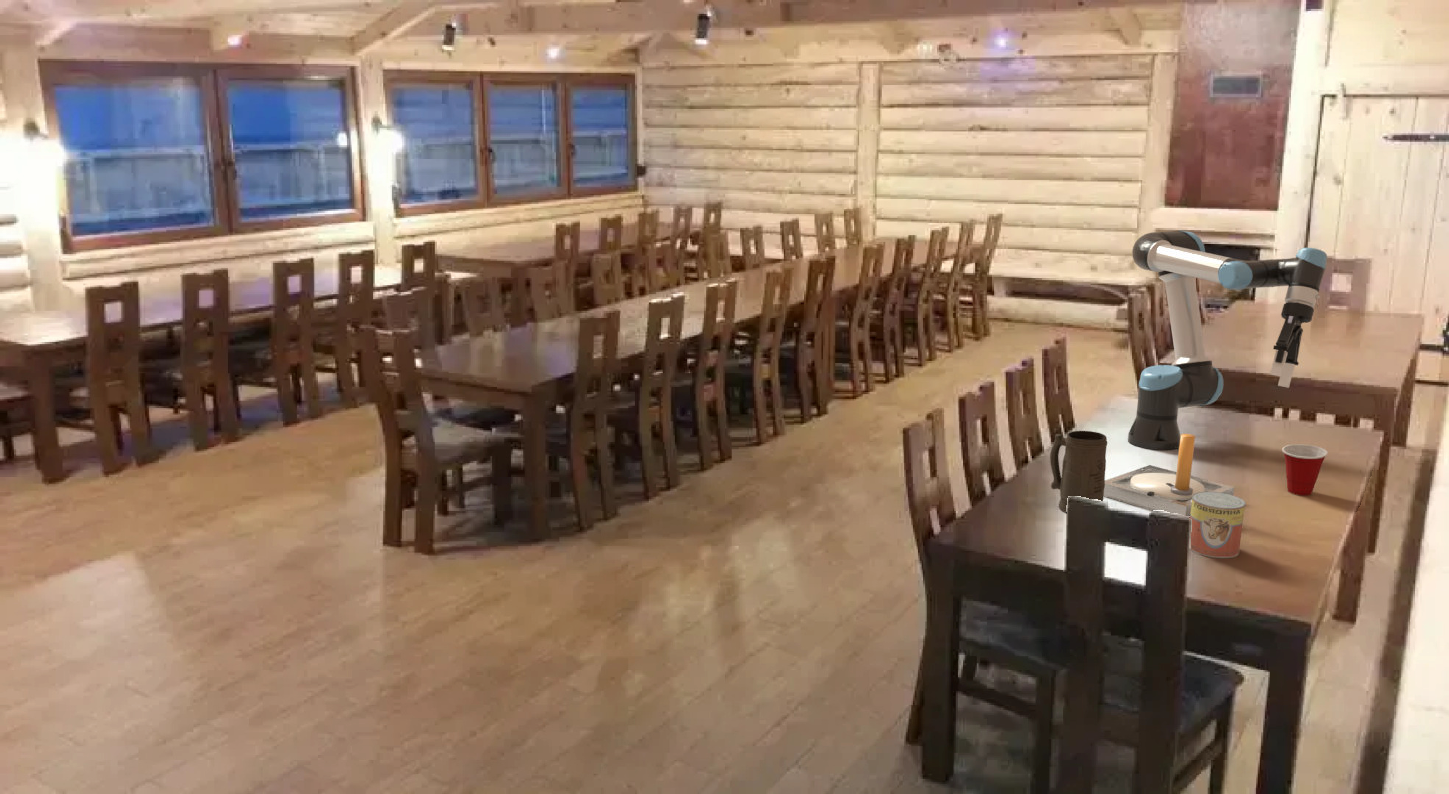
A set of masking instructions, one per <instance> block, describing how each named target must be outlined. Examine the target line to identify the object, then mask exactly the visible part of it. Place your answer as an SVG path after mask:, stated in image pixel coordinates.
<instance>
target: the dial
mask: <svg viewBox="0 0 1449 794" xmlns="http://www.w3.org/2000/svg"><path fill="white" fill-rule="evenodd" d="M1180 436H1181V437H1180V446H1179V448H1178V455H1177V456H1178V457H1177V465H1176V472H1177V473H1176V475H1174V474H1166V473H1143V474H1138V475H1135V476H1133V477H1132V478H1131V482H1130V486H1131V488H1133V489H1136V490H1140V491H1144V492H1147V493H1148V492H1150V491H1152V492H1154V495H1158V496H1161V497H1165V498H1168V499H1172V500H1190V499H1191V497H1192V496H1193V495H1194V494H1195V493H1199V492H1204V486H1203V485H1202V484H1201V483H1200V482H1198V481H1196V480H1193V479H1191V478H1190V477H1191V476H1192V465H1193V457H1194V452H1195V451H1194V450H1195V441H1196V436H1195V435H1194V434H1191V433H1182V434H1181V433H1180Z"/></svg>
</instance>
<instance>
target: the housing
mask: <svg viewBox="0 0 1449 794" xmlns="http://www.w3.org/2000/svg"><path fill="white" fill-rule="evenodd" d="M1143 473H1166V474H1174V475H1176V473H1177V471H1175V470H1171V469H1170V470H1169V469H1166V468H1163V467H1159V466H1154V465H1150V464H1148V465H1146V466H1142V467H1139V468H1137V469H1135V470H1131V471H1129V472H1126V473H1123V474H1120V475H1118V476H1117V475H1116V476H1115V477H1111V478H1109V479H1105V488H1104V496H1103V497H1106V498H1110V499H1113V500H1116V499H1117V500H1116V501H1119V500H1120V501H1119V502H1123V503H1126V504H1129V505H1133V506H1137V507H1140V508H1142V509H1147V510H1149V511H1153V510H1164V511H1167V512H1170V513H1178V514H1181V515H1184V516H1190V515H1191V506H1192V497H1191V499H1190V500H1172V499H1168V498H1165V497H1161V496H1158V495H1154V492H1152V491H1150V492H1148V493H1147V492H1144V491H1140V490H1136V489H1133V488H1131V486H1130V482H1131V478H1132V477H1133V476H1135V475H1138V474H1143ZM1190 478H1191V479H1193V480H1196V481H1198V482H1200V483H1201V484H1202V485H1203V486H1204V492H1219V493H1225V494H1230V495H1233V496H1234V494H1235V493H1234V491H1235V486H1231V485H1228V484H1224V483H1220V482H1215V481H1213V480H1208V479H1205V478H1200V477H1198V476H1193V475H1191V477H1190Z"/></svg>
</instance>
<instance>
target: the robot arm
mask: <svg viewBox="0 0 1449 794" xmlns="http://www.w3.org/2000/svg"><path fill="white" fill-rule="evenodd" d="M1131 254H1132V256H1131V257H1132V259H1133V261H1134V263H1135V264H1136V266H1137V267H1139V268H1140V269H1142V270H1146V271H1151V272H1154V273H1158V278H1159V280H1161V281H1163V283H1164V284H1165V285H1164V286H1165V293H1166V299H1167V307H1168V313H1169V320H1170V329H1171V335H1172V343H1173V351H1174V356H1175V359H1174V361H1173V362H1172V363H1171V365H1169V364H1164V365H1161V364H1159V365H1157V364H1156V365H1151V366H1148V367H1146V368H1144V369H1143V370H1142V371H1141V374H1140V379H1139V381H1138V396H1137V406H1136V414H1135V418H1134V421H1133V423H1132V425H1131V427H1130V429H1129V431H1128V435H1127V437H1128V438H1127V442H1128V443H1129V444H1131V445H1133V446H1137V447H1139V448H1144V449H1150V450H1160V451H1161V450H1162V451H1163V450H1164V451H1166V450H1169V451H1170V450H1175V449H1179V446H1180V437H1181V433H1180V428H1179V424H1178V414H1179V409H1181V408H1190V407H1191V408H1192V407H1204V406H1206V405H1211V404H1213V403H1214V402H1216V401H1217V400H1218V399H1219V398H1220V396H1221V395H1222V392H1223V390H1224V377H1223V374H1222V373H1221V372H1220V371H1219V369H1218V368H1217V367H1214V365H1213V360H1212V359H1211V358H1210V357H1209V356H1207V355H1206V350H1205V349H1206V348H1205V342H1204V336H1203V328H1202V320H1201V313H1200V307H1199V299H1198V292H1197V285H1196V279H1200V280H1202V281H1203V280H1204V281H1207V282H1212V283H1215V284H1220V285H1221V286H1222V287H1223V288H1224V289H1226V290H1245V289H1257V288H1258V289H1259V288H1274V287H1275V288H1276V287H1287V290H1286V293H1285V297H1284V302H1285V303H1283V306H1282V310H1281V314H1280V316H1281V319H1284V322H1283V325H1282V327H1281V329H1280V332H1279V335H1278V337H1277V340H1276V343H1275V345H1273V350H1275V353H1274V358H1273V362H1272V364H1271V369H1270V372H1269V375H1271V376H1275V377H1279V379H1278V384H1277V386H1278V387H1284V388H1287V389H1289V388H1290V385H1291V381H1292V378H1293V373H1294V370H1295V366H1299V363H1300V362H1298V358H1299V353H1300V346H1301V340H1302V336H1303V332H1304V329H1303V328H1302V324H1303V323H1304V324H1306V323H1307V324H1308V323H1311V322H1312V319H1313V316H1314V312H1315V309H1314V307H1315V306H1316V303H1317V300H1319V299H1320V298H1321V296H1320V295H1319V293H1320V288H1321V285H1322V280H1323V278H1324V274H1325V271H1326V266H1327V260H1328V255H1327V253H1326V252H1325V251H1323V250H1321V249H1318V248H1315V247H1314V248H1313V247H1302V248H1300V249H1298V250H1297V253H1296V255H1295V257H1291V258H1277V259H1276V258H1275V259H1274V258H1273V259H1258V260H1242V259H1238V258H1232V257H1228V256H1223V255H1220V254H1219V255H1218V254H1214V253H1210V252H1206V248H1205V244H1204V243H1203V240H1202V239H1201V238H1200V237H1199V236H1198V235H1197V234H1196V233H1194V232H1191V231H1184V230H1173V231H1157V232H1156V231H1154V232H1153V231H1152V232H1149V233H1146V234H1142V235H1141V236H1140V237H1139V238H1138V239H1137V240H1136V241H1135V243H1134V245H1133V247H1132V251H1131Z"/></svg>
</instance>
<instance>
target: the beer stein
mask: <svg viewBox="0 0 1449 794" xmlns="http://www.w3.org/2000/svg"><path fill="white" fill-rule="evenodd" d="M1107 438H1108V437H1107V436H1106V434H1103V433H1101V432H1097V431H1090V430H1073V431H1070V432H1067V435H1066V437H1064V435H1062V434H1060V433H1056V434H1055V435H1054V441H1053V443H1052V447H1051V449H1050V453H1049V456H1050V457H1049V459H1050V460H1049V463H1050V468H1051V473H1052V475H1053V476H1052V477H1053V479H1052V480H1053V481H1052V482H1051V485H1050V487H1051V489H1052V490H1059V492H1060V493H1059V497H1060V500H1059V502H1058V508H1059V509H1060V510H1061V511H1062V512H1064V513H1066V505H1067V498H1068V496H1081V497H1086V498H1089V499H1098V500H1101V501H1102V502H1103V501H1104V497H1105V496H1104V488H1105V480H1106V479H1105V478H1106V477H1105V476H1106V465H1107V460H1106V456H1107V446H1108V441H1107V440H1108V439H1107ZM1063 446H1064V448H1065V450H1064V451H1065V452H1064V456H1063V460H1062V469H1061V468H1060V461H1059V453H1060V449H1061V447H1063ZM1060 469H1061V470H1060Z"/></svg>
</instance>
